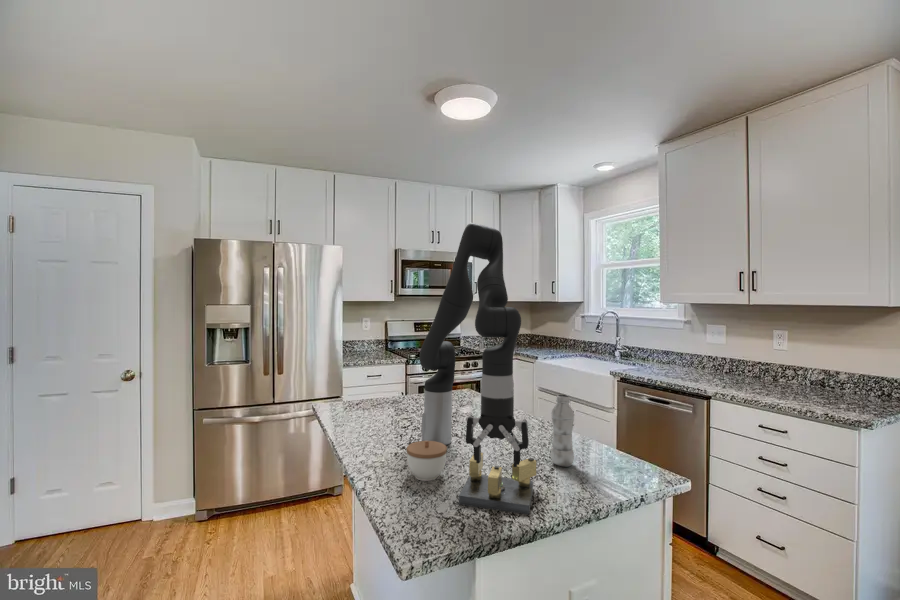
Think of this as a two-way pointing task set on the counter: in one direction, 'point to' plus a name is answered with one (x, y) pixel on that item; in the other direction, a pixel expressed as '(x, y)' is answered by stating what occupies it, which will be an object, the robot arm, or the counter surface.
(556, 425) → the plastic bottle
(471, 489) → the levelling plate
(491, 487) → the bar with square hole
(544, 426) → the counter surface
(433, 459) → the lidded jar
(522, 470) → the knob
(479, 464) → the knob
